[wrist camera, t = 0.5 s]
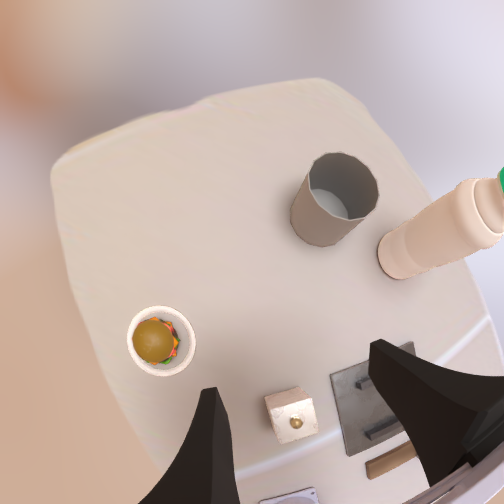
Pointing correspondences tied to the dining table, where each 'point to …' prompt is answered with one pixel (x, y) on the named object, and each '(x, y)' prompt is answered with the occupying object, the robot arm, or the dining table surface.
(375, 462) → the rail
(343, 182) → the cup
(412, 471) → the dining table surface
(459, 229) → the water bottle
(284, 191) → the dining table surface
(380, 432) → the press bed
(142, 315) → the burger on plate
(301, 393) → the block
